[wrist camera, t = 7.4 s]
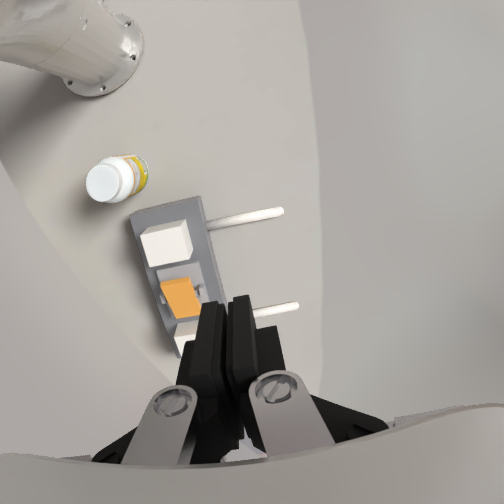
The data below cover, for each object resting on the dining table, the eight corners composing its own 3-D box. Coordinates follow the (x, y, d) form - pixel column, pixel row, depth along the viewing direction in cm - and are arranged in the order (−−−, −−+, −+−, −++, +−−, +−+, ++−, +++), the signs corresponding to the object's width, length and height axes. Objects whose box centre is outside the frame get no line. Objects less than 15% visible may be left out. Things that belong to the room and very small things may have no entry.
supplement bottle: (155, 160, 39) (131, 166, 30) (142, 199, 40) (117, 215, 31) (118, 149, 38) (87, 152, 29) (107, 187, 39) (75, 200, 30)
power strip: (136, 211, 41) (119, 222, 34) (277, 179, 40) (285, 186, 34) (180, 346, 48) (173, 373, 42) (301, 325, 47) (309, 350, 41)
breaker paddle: (159, 279, 38) (158, 286, 37) (190, 273, 38) (190, 280, 37) (175, 311, 41) (175, 319, 40) (204, 306, 41) (204, 314, 40)
